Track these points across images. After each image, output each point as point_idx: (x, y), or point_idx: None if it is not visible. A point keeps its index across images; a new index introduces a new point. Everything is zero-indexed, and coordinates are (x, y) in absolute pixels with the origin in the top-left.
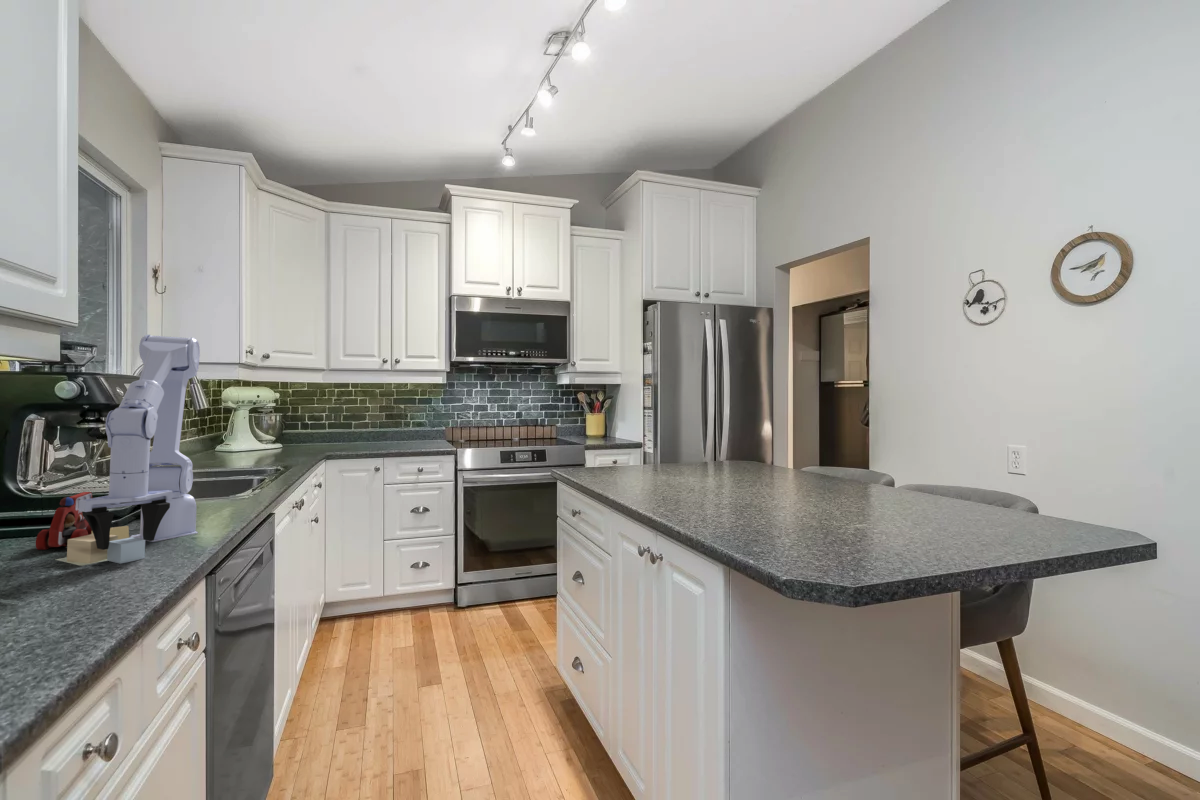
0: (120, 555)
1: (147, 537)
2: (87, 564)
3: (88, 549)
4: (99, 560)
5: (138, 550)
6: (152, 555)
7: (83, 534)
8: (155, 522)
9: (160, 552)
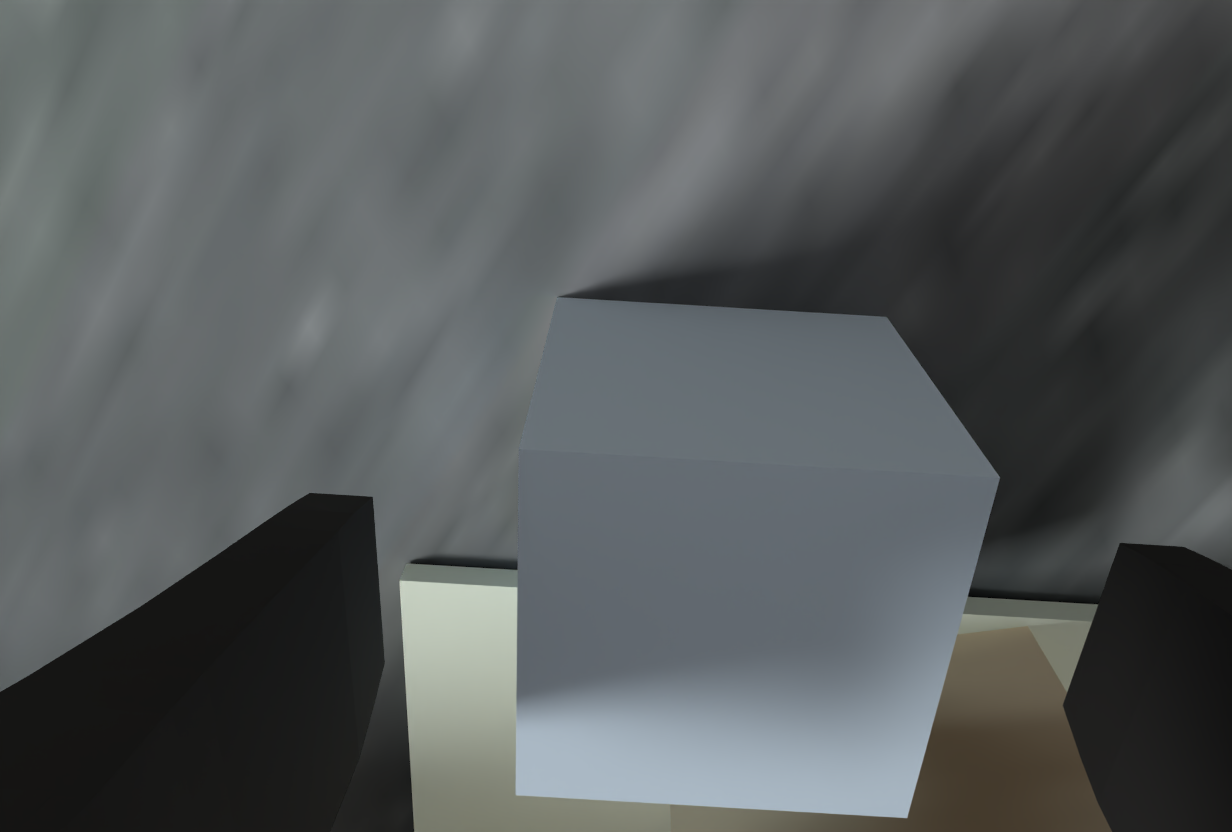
0: (931, 385)
1: (362, 607)
2: (1066, 617)
3: None
4: None
5: (648, 372)
6: (344, 447)
7: None
8: (125, 717)
9: (201, 498)
